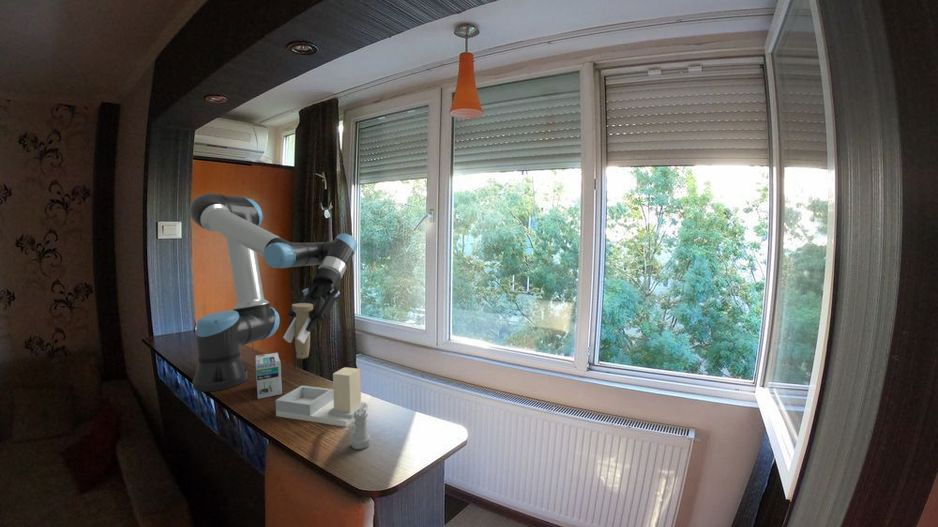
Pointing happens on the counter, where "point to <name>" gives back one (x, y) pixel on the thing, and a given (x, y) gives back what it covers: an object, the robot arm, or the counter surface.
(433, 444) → the counter surface
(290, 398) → the white tray base
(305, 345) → the beige tall capped post
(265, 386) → the light bulb box
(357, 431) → the rook chess piece
